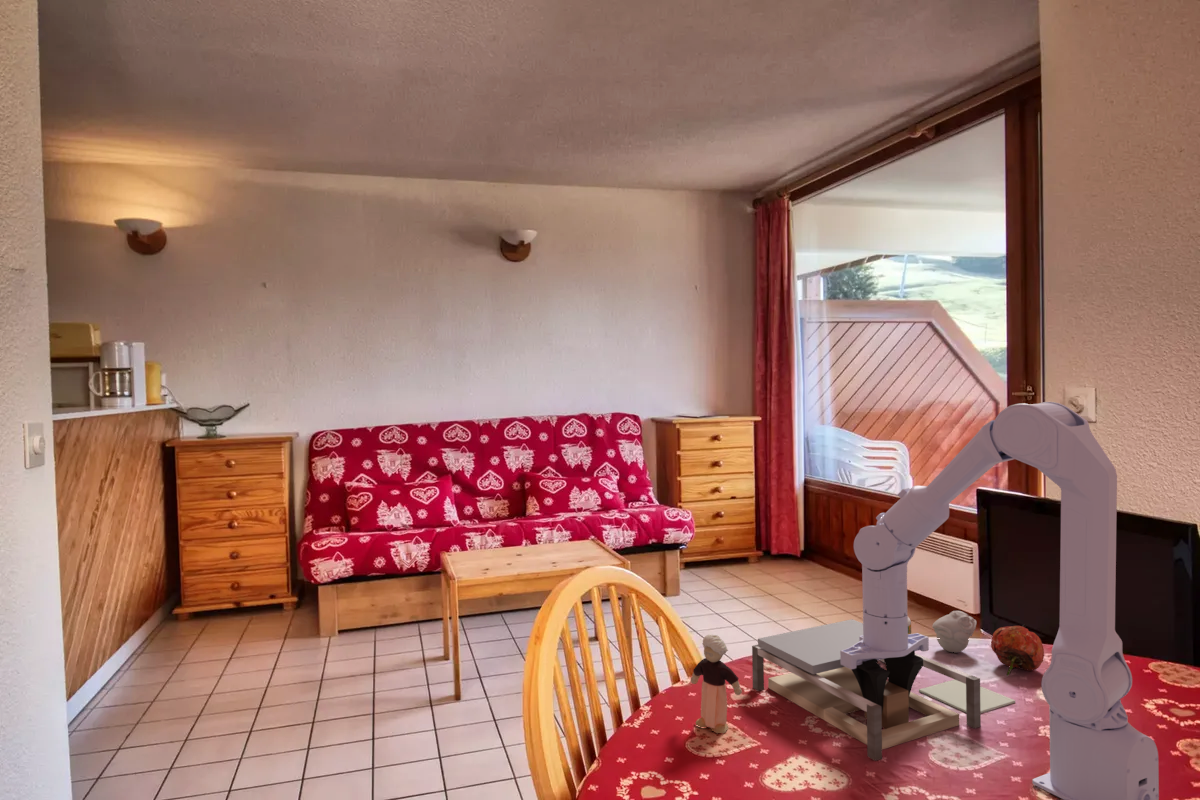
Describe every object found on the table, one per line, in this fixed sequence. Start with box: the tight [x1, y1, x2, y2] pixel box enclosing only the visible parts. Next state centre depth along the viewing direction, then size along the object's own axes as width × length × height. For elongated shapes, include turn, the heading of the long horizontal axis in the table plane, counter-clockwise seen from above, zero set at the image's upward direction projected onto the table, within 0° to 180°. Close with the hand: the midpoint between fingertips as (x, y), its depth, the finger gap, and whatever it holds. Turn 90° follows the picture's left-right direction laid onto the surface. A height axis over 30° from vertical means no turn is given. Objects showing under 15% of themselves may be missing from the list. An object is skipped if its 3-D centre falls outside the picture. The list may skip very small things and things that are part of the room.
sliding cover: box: [757, 618, 863, 674], centre depth 106 cm, size 12×19×1 cm, turn 115°
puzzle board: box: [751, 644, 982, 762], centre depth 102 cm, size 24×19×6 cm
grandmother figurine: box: [690, 634, 743, 734], centre depth 96 cm, size 8×4×13 cm, turn 62°
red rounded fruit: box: [990, 624, 1045, 677], centre depth 114 cm, size 7×7×10 cm
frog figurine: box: [932, 610, 977, 654], centre depth 122 cm, size 6×7×7 cm
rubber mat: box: [918, 679, 1016, 714], centre depth 104 cm, size 9×9×1 cm
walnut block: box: [864, 680, 910, 729], centre depth 98 cm, size 4×4×4 cm
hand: (886, 710), depth 98 cm, fingers closed on walnut block, 4 cm apart
